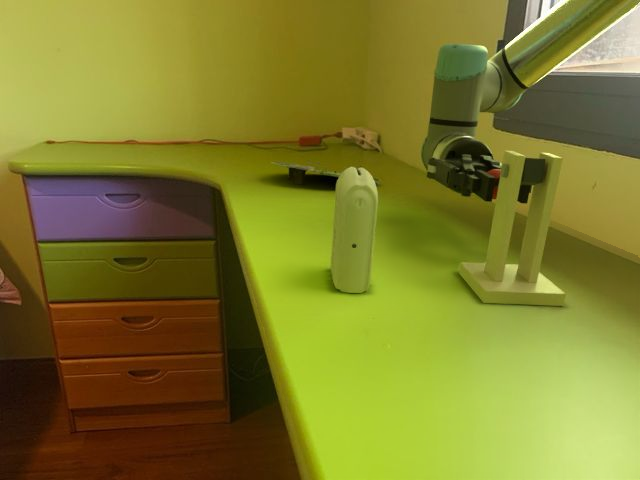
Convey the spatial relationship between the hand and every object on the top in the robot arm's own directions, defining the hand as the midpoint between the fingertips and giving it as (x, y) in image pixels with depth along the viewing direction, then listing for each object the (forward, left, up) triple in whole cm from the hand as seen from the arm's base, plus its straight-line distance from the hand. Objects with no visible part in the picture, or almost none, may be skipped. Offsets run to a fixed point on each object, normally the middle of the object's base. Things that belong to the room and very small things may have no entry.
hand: (508, 190), depth 81 cm
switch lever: (0, +1, 0) cm, 1 cm away
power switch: (-2, +6, -10) cm, 12 cm away
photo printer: (+16, +11, -10) cm, 22 cm away
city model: (+36, -59, -10) cm, 70 cm away
